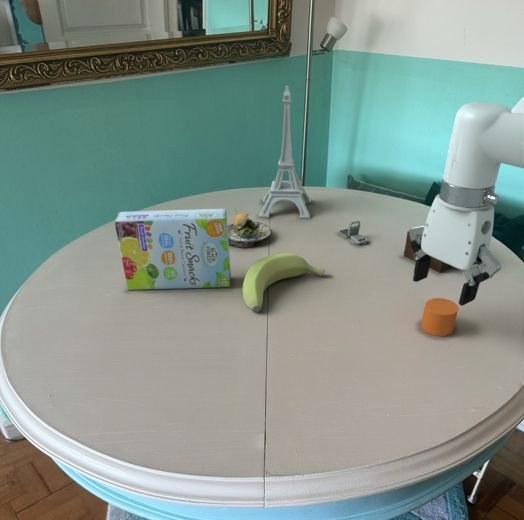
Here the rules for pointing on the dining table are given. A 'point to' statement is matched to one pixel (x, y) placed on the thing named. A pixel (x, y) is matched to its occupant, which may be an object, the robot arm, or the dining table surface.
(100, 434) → the dining table surface
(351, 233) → the strap clip
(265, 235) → the burger
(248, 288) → the banana
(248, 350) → the dining table surface
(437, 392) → the dining table surface
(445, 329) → the orange puck
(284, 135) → the eiffel tower
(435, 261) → the walnut block
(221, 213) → the snack box
